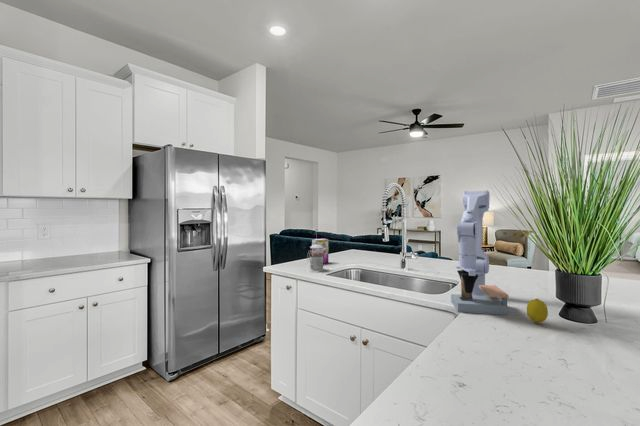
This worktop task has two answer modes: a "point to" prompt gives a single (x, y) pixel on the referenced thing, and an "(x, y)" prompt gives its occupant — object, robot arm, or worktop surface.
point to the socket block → (483, 301)
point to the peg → (463, 293)
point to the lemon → (537, 311)
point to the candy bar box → (322, 250)
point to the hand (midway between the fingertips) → (467, 291)
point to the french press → (316, 258)
